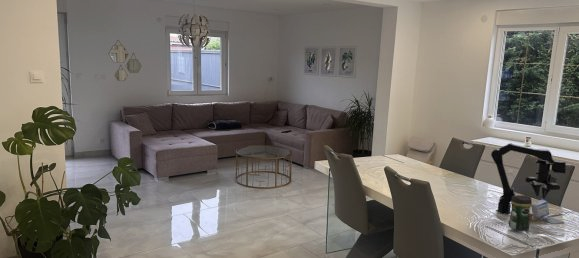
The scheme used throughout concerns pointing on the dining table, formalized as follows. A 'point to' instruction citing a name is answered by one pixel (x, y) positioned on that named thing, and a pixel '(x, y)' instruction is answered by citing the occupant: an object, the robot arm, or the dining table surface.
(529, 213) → the shelf bay
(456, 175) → the dining table surface
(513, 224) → the coffee jar
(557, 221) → the pad
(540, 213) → the medicine box
